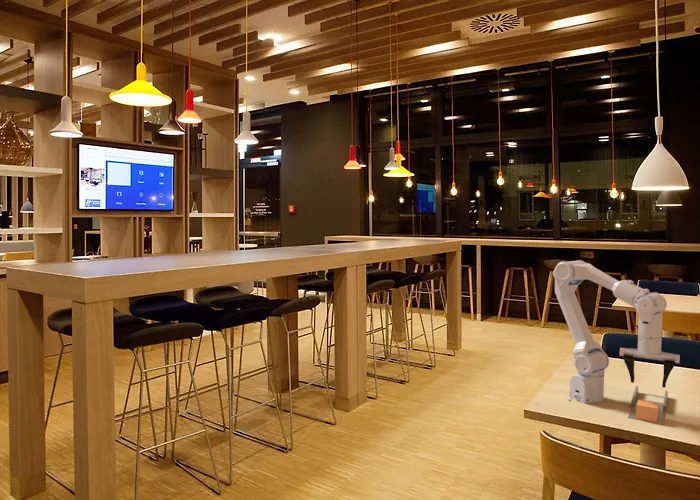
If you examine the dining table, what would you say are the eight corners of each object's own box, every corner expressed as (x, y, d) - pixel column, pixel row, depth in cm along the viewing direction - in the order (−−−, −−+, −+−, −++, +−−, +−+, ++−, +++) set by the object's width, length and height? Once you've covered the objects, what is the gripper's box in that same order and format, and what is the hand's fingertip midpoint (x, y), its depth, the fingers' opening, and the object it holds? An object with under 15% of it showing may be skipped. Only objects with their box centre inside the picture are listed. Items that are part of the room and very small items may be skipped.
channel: (663, 428, 140) (664, 417, 140) (627, 421, 145) (627, 410, 145) (667, 400, 161) (667, 390, 161) (635, 395, 166) (636, 386, 166)
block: (656, 422, 141) (657, 408, 141) (635, 418, 144) (636, 404, 144) (657, 416, 146) (658, 402, 145) (637, 413, 148) (638, 399, 148)
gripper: (680, 336, 145) (678, 384, 146) (622, 330, 153) (620, 376, 154) (680, 342, 139) (678, 391, 140) (619, 335, 147) (617, 382, 148)
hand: (648, 384), depth 146 cm, fingers open, 7 cm apart
